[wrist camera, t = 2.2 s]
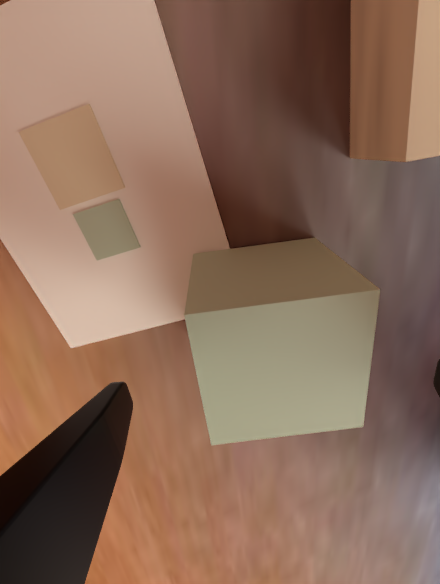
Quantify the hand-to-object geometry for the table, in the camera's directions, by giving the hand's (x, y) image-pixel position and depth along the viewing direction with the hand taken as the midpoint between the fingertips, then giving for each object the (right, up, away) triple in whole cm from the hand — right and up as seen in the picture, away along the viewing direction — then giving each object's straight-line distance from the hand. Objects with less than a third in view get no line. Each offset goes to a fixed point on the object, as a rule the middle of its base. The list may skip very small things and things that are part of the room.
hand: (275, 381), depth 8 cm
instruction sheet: (-6, +6, +3) cm, 10 cm away
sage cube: (0, +2, +5) cm, 5 cm away
